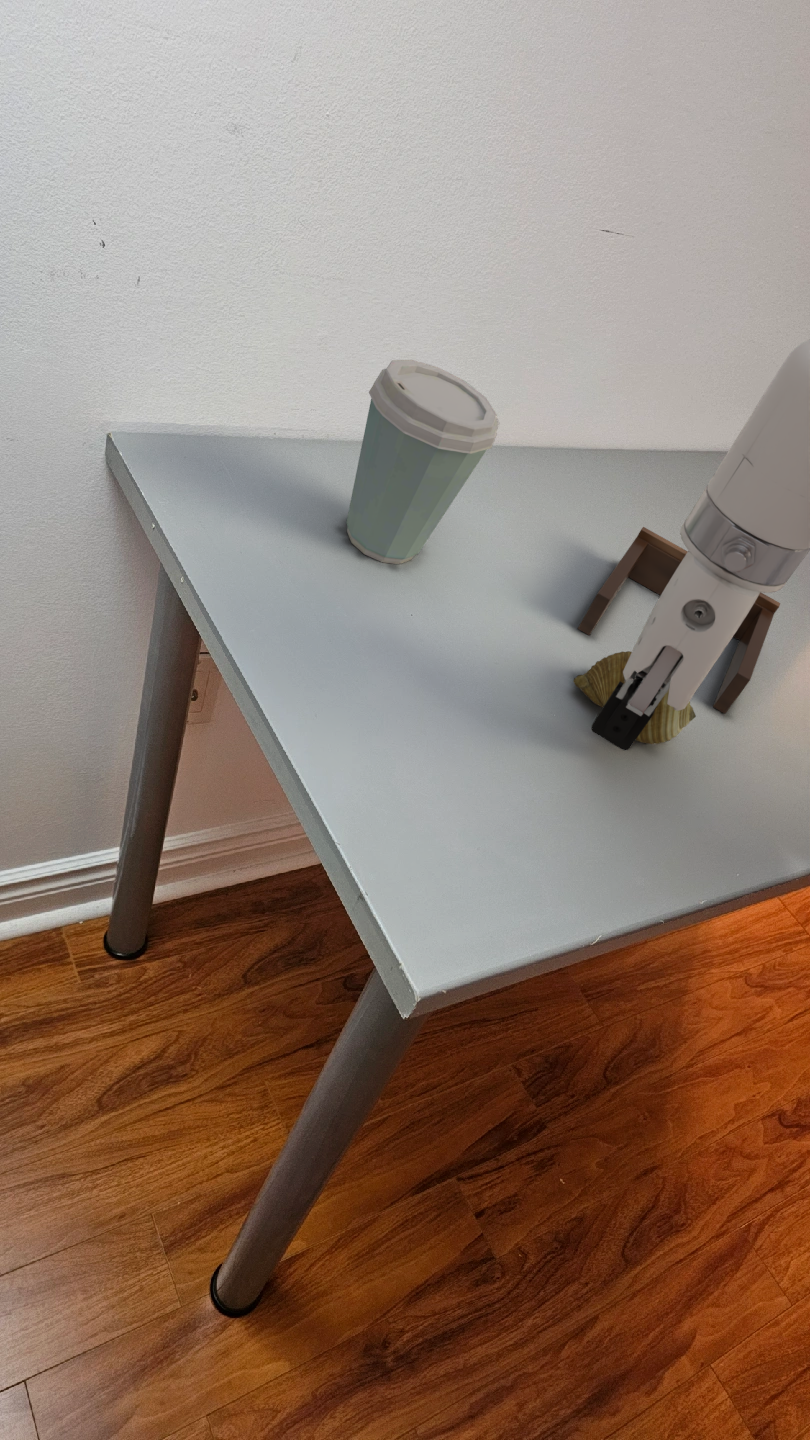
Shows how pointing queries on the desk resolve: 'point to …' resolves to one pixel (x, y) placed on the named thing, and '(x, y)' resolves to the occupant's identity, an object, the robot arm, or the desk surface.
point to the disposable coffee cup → (415, 457)
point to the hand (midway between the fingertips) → (611, 735)
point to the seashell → (610, 673)
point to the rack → (653, 569)
